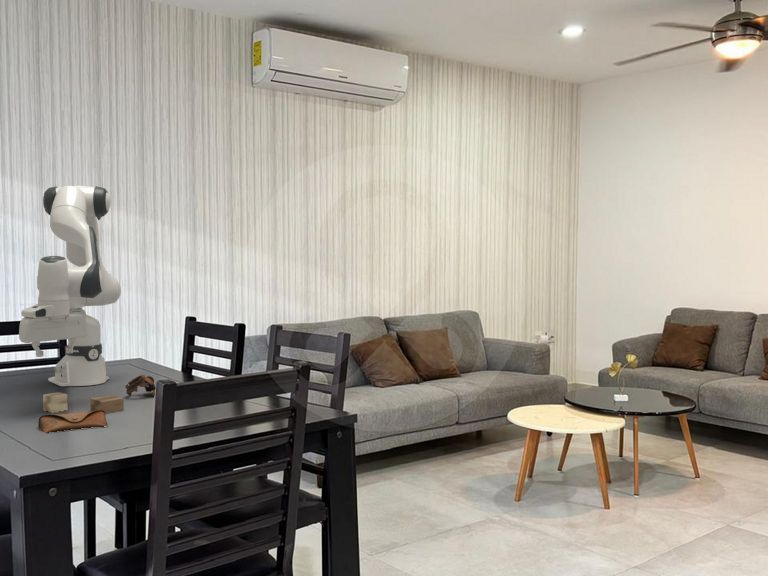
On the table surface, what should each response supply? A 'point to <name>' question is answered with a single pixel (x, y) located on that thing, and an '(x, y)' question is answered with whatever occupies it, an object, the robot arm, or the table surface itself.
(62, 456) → the table surface
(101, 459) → the table surface
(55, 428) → the sunglasses case
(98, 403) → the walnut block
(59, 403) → the beech block
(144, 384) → the brown piece
